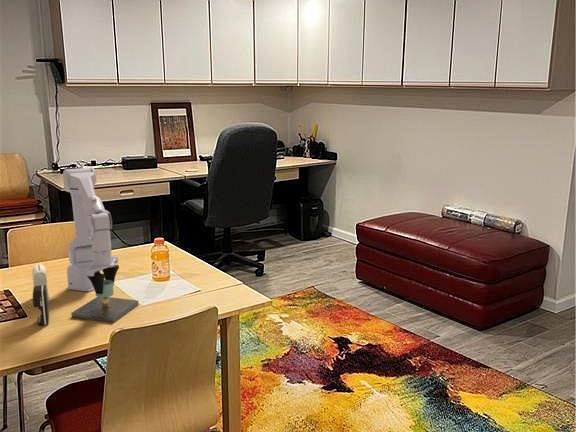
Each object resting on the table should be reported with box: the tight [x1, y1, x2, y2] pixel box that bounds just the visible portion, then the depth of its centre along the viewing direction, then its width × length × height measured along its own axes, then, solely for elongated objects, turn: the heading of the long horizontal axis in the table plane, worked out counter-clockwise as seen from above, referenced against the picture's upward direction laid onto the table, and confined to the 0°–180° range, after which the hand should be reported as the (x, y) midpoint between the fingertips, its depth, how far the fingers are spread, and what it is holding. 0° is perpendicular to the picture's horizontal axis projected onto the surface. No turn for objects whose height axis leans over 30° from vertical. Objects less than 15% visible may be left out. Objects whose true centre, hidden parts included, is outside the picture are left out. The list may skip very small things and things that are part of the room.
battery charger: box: [32, 285, 50, 326], centre depth 168 cm, size 7×4×11 cm, turn 22°
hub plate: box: [71, 296, 139, 324], centre depth 177 cm, size 15×15×6 cm
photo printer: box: [31, 263, 50, 303], centre depth 185 cm, size 10×4×12 cm, turn 26°
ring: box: [95, 279, 115, 298], centre depth 176 cm, size 5×5×4 cm
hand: (104, 290), depth 176 cm, fingers closed on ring, 5 cm apart
